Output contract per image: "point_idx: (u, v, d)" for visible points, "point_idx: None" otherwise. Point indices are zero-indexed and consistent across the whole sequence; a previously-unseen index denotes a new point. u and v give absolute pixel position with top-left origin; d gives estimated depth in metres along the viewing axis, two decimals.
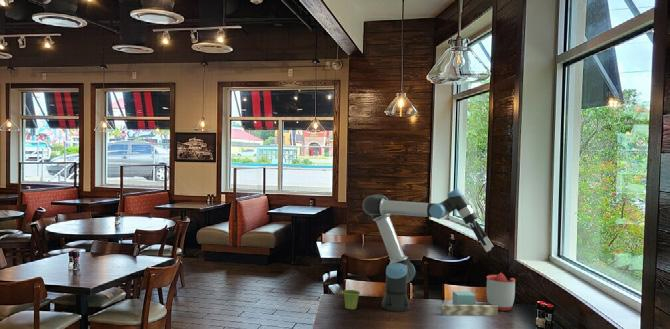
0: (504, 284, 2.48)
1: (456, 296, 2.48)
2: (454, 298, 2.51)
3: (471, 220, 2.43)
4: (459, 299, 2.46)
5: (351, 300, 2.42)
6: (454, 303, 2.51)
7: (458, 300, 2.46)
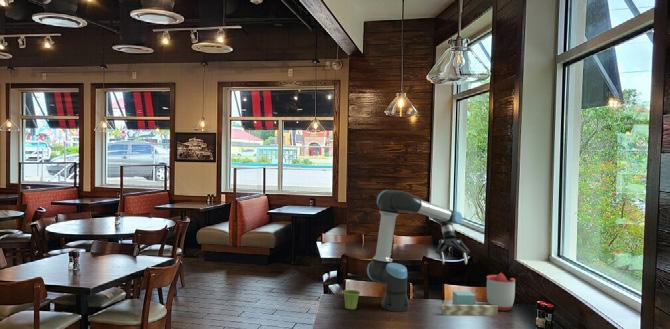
0: (504, 284, 2.48)
1: (456, 296, 2.48)
2: (454, 298, 2.51)
3: None
4: (459, 299, 2.46)
5: (351, 300, 2.42)
6: (454, 303, 2.51)
7: (458, 300, 2.46)
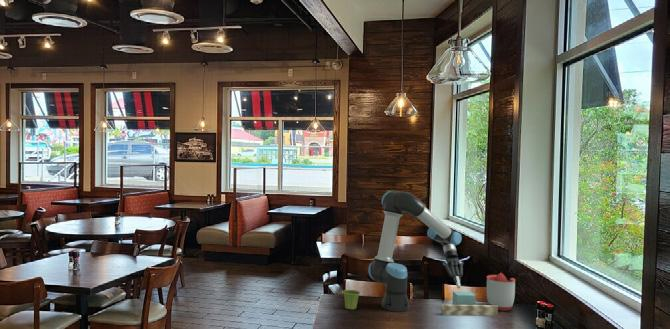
0: (504, 284, 2.48)
1: (456, 296, 2.48)
2: (454, 298, 2.51)
3: None
4: (459, 299, 2.46)
5: (351, 300, 2.42)
6: (454, 303, 2.51)
7: (458, 300, 2.46)
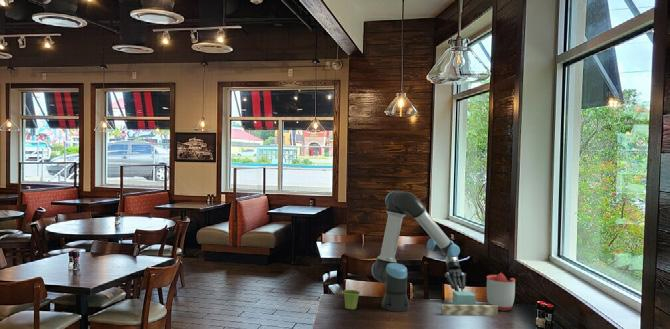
0: (504, 284, 2.48)
1: (456, 296, 2.48)
2: (454, 298, 2.51)
3: None
4: (459, 299, 2.46)
5: (351, 300, 2.42)
6: (454, 303, 2.50)
7: (458, 300, 2.46)
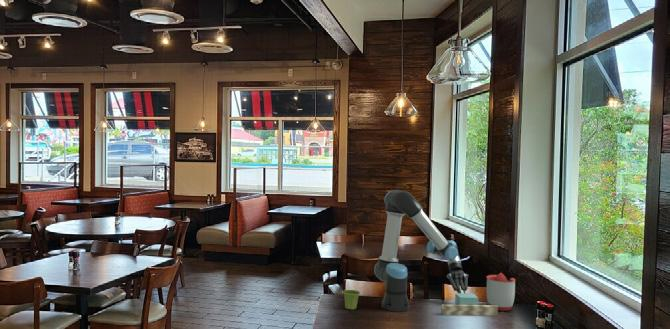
0: (504, 284, 2.48)
1: (458, 298, 2.44)
2: (457, 300, 2.46)
3: None
4: (462, 302, 2.42)
5: (351, 300, 2.42)
6: None
7: (461, 303, 2.42)
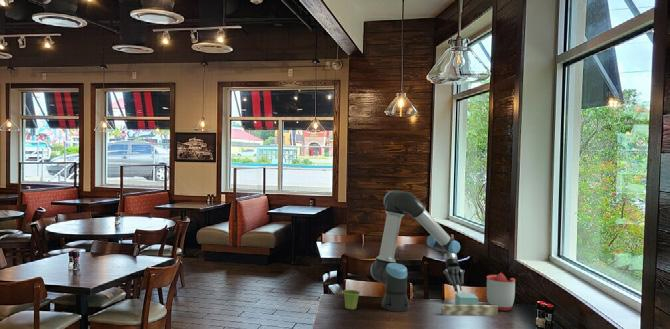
0: (504, 284, 2.48)
1: (458, 298, 2.44)
2: (457, 300, 2.46)
3: None
4: (462, 302, 2.42)
5: (351, 300, 2.42)
6: None
7: (461, 303, 2.42)
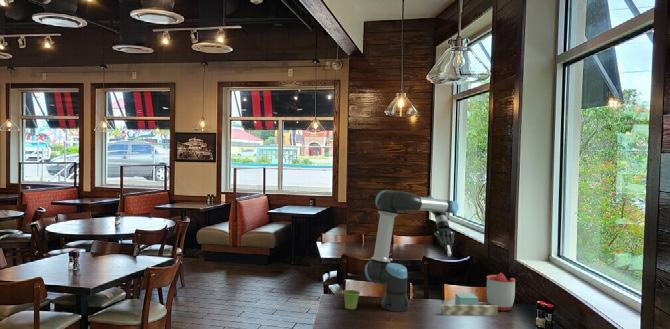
0: (504, 284, 2.48)
1: (458, 298, 2.44)
2: (457, 300, 2.46)
3: None
4: (462, 302, 2.42)
5: (351, 300, 2.42)
6: None
7: (461, 303, 2.42)
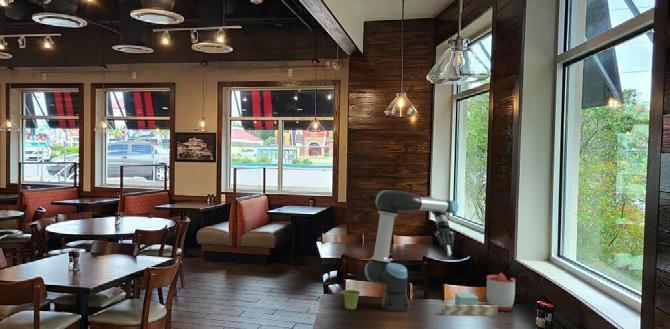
0: (504, 284, 2.48)
1: (458, 298, 2.44)
2: (457, 300, 2.46)
3: None
4: (462, 302, 2.42)
5: (351, 300, 2.42)
6: None
7: (461, 303, 2.42)
